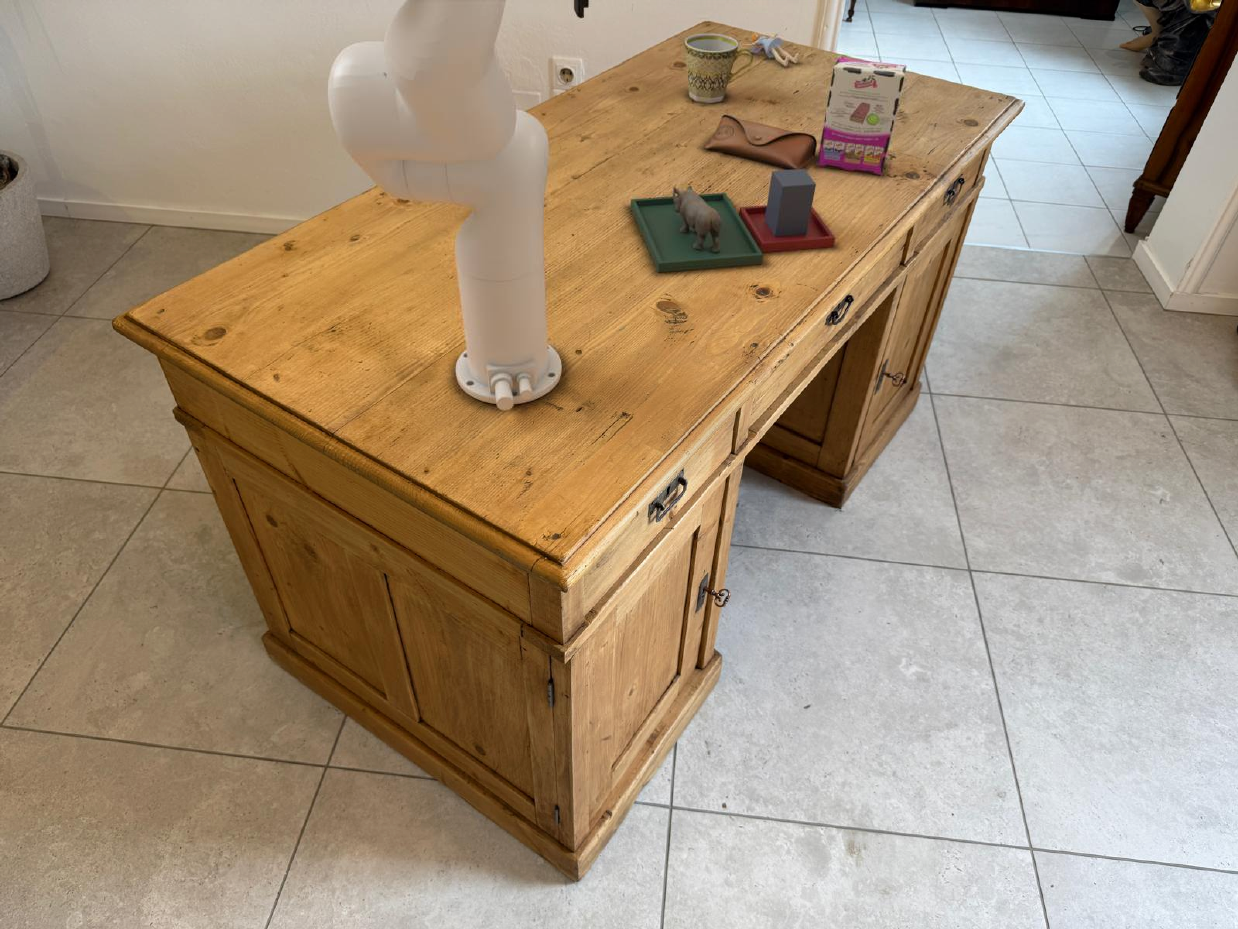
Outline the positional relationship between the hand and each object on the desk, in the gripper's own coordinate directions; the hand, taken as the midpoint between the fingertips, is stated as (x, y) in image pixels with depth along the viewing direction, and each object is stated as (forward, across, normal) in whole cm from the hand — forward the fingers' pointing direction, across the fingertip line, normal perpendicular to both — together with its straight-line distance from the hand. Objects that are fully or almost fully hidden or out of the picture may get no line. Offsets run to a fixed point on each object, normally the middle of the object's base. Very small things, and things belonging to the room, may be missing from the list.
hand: (538, 15), depth 102 cm
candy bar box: (+32, +55, +23) cm, 68 cm away
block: (+32, +36, +3) cm, 49 cm away
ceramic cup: (+32, +40, +55) cm, 75 cm away
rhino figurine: (+32, +22, +4) cm, 39 cm away
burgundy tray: (+32, +36, +3) cm, 49 cm away
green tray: (+32, +22, +4) cm, 40 cm away
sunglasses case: (+32, +41, +30) cm, 60 cm away
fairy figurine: (+32, +58, +75) cm, 100 cm away
